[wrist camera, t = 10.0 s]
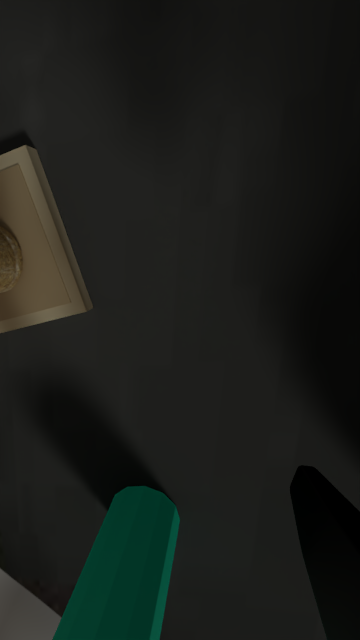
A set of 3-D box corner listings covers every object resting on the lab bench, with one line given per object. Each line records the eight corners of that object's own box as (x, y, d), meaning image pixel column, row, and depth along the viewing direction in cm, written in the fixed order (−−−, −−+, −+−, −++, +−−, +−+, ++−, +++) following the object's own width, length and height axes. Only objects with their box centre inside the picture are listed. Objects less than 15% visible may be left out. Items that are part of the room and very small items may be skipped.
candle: (109, 479, 24) (6, 696, 13) (181, 492, 24) (136, 734, 12) (111, 532, 26) (22, 763, 15) (178, 546, 25) (137, 800, 14)
